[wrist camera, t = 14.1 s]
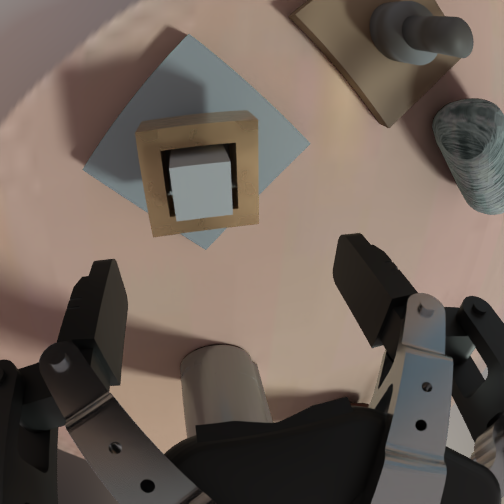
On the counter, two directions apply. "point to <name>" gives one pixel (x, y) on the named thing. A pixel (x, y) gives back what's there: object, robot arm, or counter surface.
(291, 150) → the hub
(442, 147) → the teal-grey streaked oval part
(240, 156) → the square wooden frame
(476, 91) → the counter surface
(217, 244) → the counter surface
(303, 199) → the counter surface
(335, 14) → the stand
